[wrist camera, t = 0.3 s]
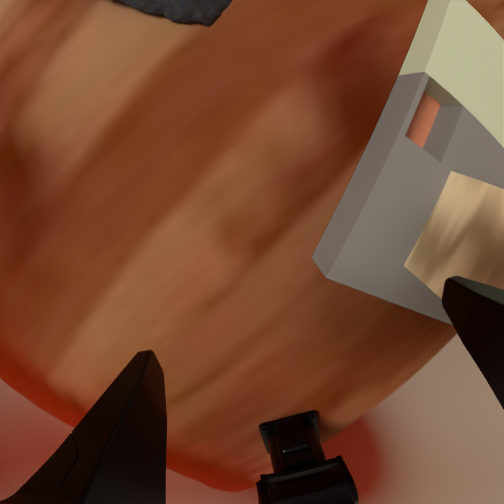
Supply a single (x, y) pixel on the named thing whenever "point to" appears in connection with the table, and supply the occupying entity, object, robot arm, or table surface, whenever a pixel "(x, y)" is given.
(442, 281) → the maple block
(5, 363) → the table surface
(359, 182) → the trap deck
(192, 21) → the dark slate chunk
